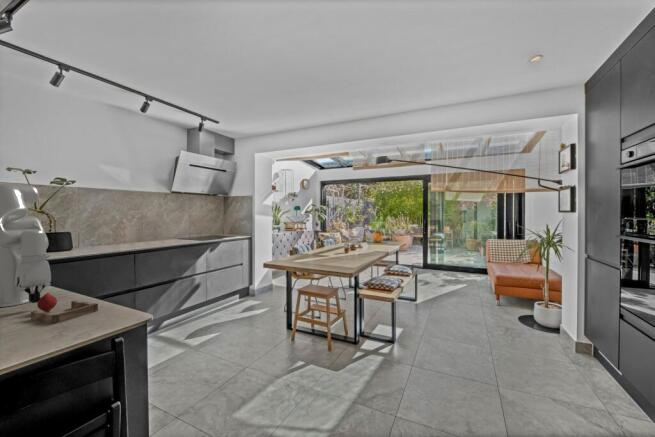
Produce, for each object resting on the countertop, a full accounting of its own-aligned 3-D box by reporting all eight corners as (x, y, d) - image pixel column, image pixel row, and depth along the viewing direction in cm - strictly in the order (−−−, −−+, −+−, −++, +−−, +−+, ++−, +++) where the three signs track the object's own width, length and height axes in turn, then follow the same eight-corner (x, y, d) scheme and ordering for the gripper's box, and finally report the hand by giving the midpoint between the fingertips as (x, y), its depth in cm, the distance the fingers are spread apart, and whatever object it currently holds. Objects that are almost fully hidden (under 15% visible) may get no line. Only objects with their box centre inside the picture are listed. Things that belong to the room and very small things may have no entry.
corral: (31, 319, 111) (30, 311, 111) (75, 307, 125) (75, 300, 125) (54, 323, 107) (54, 315, 107) (97, 310, 121) (97, 303, 121)
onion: (44, 314, 116) (44, 295, 116) (33, 313, 117) (33, 294, 117) (60, 310, 122) (60, 291, 122) (49, 309, 123) (49, 290, 123)
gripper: (49, 256, 130) (50, 296, 130) (4, 261, 116) (5, 306, 116) (60, 257, 128) (61, 298, 128) (15, 262, 114) (16, 308, 114)
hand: (34, 302), depth 122 cm, fingers closed
